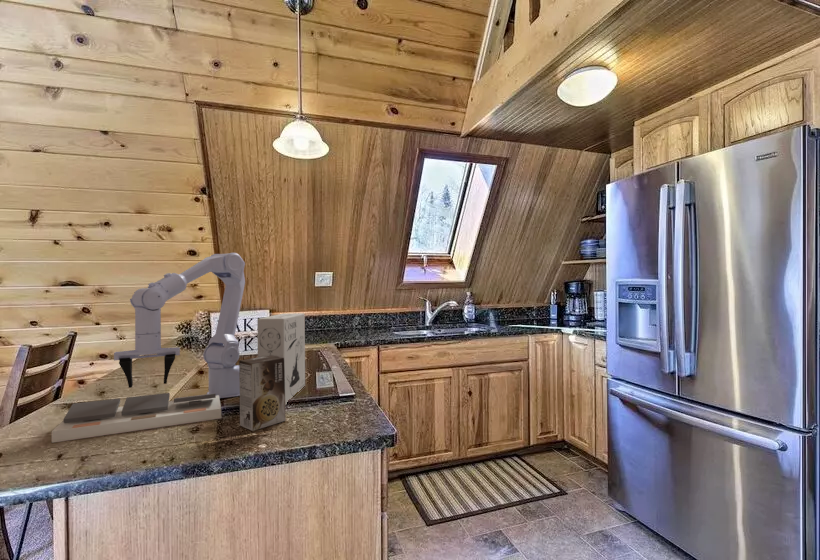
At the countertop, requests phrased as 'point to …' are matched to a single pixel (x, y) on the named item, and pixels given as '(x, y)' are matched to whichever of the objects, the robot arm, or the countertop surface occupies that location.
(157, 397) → the rocker mid
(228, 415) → the countertop surface
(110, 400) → the rocker outer
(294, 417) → the countertop surface
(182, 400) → the rocker inner
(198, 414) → the switch panel
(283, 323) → the cereal box
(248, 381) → the cookie box
